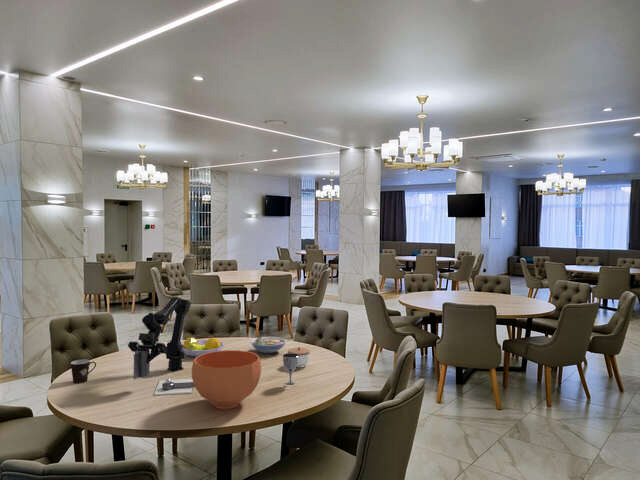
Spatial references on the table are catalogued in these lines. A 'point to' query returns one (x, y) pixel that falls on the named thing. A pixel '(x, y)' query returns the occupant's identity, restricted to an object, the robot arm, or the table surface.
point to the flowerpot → (226, 376)
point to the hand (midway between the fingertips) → (141, 362)
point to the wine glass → (290, 364)
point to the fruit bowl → (201, 346)
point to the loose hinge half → (141, 363)
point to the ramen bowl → (268, 344)
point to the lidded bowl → (301, 355)
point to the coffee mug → (80, 370)
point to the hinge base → (174, 387)
